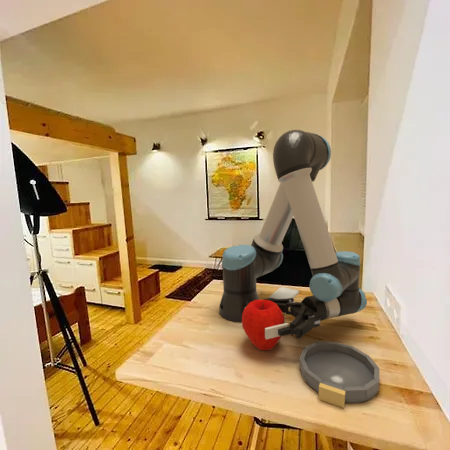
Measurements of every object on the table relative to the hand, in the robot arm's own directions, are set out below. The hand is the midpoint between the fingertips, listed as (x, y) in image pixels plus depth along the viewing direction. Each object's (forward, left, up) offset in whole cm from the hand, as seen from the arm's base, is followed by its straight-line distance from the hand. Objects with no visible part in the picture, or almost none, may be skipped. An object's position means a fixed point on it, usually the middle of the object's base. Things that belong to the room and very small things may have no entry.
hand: (254, 322), depth 74 cm
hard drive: (-4, +37, -9) cm, 39 cm away
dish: (+22, 0, -8) cm, 23 cm away
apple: (+2, +2, -8) cm, 9 cm away
